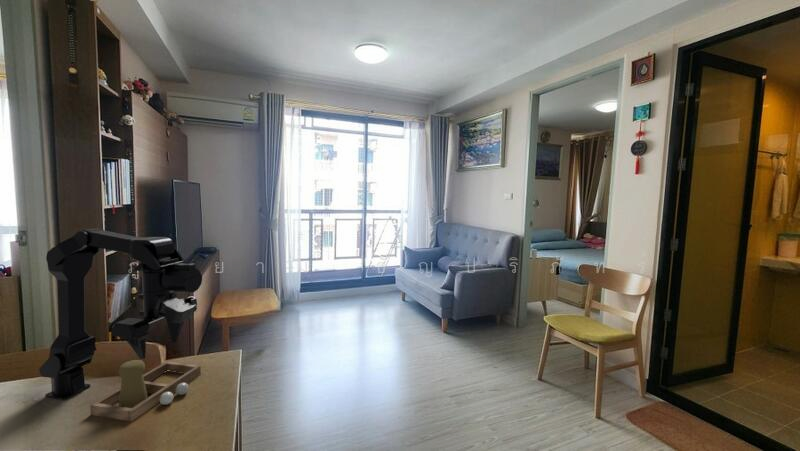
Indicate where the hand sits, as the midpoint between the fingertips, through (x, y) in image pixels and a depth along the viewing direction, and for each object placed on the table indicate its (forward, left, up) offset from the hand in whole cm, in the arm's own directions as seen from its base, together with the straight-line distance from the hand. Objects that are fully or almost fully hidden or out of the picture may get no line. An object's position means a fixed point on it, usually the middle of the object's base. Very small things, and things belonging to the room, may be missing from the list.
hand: (159, 350), depth 85 cm
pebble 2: (+1, +5, -15) cm, 16 cm away
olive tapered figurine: (-7, -1, -15) cm, 17 cm away
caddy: (-7, +4, -15) cm, 17 cm away
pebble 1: (+1, +1, -15) cm, 15 cm away
